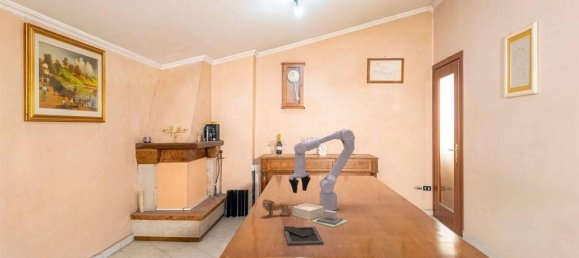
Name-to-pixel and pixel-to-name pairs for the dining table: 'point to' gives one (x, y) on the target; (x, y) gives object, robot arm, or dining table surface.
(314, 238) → the picture frame
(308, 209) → the tray
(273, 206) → the lion figurine
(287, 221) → the dining table surface
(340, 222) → the sage mat
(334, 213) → the grey cover
